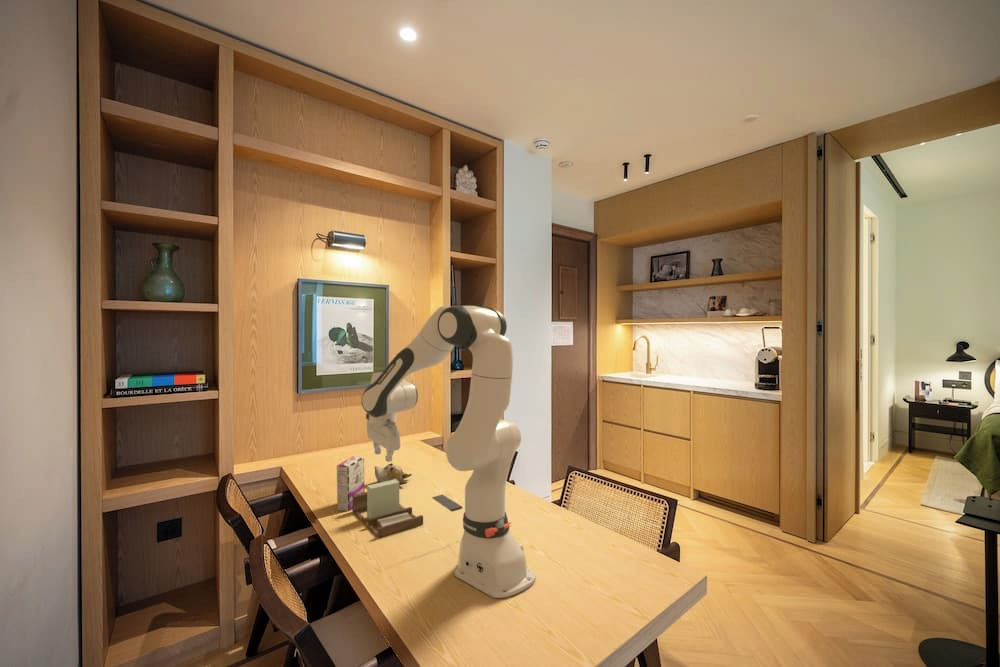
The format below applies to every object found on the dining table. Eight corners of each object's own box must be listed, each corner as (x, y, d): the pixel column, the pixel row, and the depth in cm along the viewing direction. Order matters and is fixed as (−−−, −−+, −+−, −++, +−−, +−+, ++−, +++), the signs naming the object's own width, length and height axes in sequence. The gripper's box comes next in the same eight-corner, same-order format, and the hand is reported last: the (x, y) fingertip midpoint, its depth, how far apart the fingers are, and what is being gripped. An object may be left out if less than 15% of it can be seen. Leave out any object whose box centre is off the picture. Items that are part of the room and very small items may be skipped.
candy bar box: (353, 498, 163) (352, 455, 163) (365, 499, 162) (364, 456, 162) (336, 510, 152) (336, 464, 152) (348, 512, 151) (348, 465, 151)
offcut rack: (423, 528, 139) (423, 506, 139) (378, 542, 130) (378, 519, 130) (393, 504, 158) (393, 485, 158) (352, 515, 149) (352, 495, 149)
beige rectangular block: (399, 516, 148) (399, 482, 148) (371, 524, 142) (371, 488, 142) (395, 513, 151) (395, 479, 150) (367, 521, 144) (367, 485, 144)
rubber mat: (462, 508, 155) (462, 506, 155) (422, 520, 145) (422, 518, 145) (442, 496, 166) (442, 494, 166) (404, 506, 156) (404, 504, 156)
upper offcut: (413, 524, 138) (413, 518, 138) (382, 533, 133) (382, 526, 133) (407, 518, 143) (407, 512, 143) (377, 525, 138) (377, 519, 138)
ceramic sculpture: (378, 458, 185) (413, 460, 185) (377, 478, 185) (412, 480, 185) (371, 466, 174) (407, 469, 174) (369, 487, 174) (406, 490, 174)
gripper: (405, 421, 139) (404, 463, 140) (380, 411, 156) (380, 448, 156) (386, 424, 135) (386, 467, 136) (363, 413, 152) (363, 451, 152)
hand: (383, 457), depth 146 cm, fingers open, 8 cm apart
